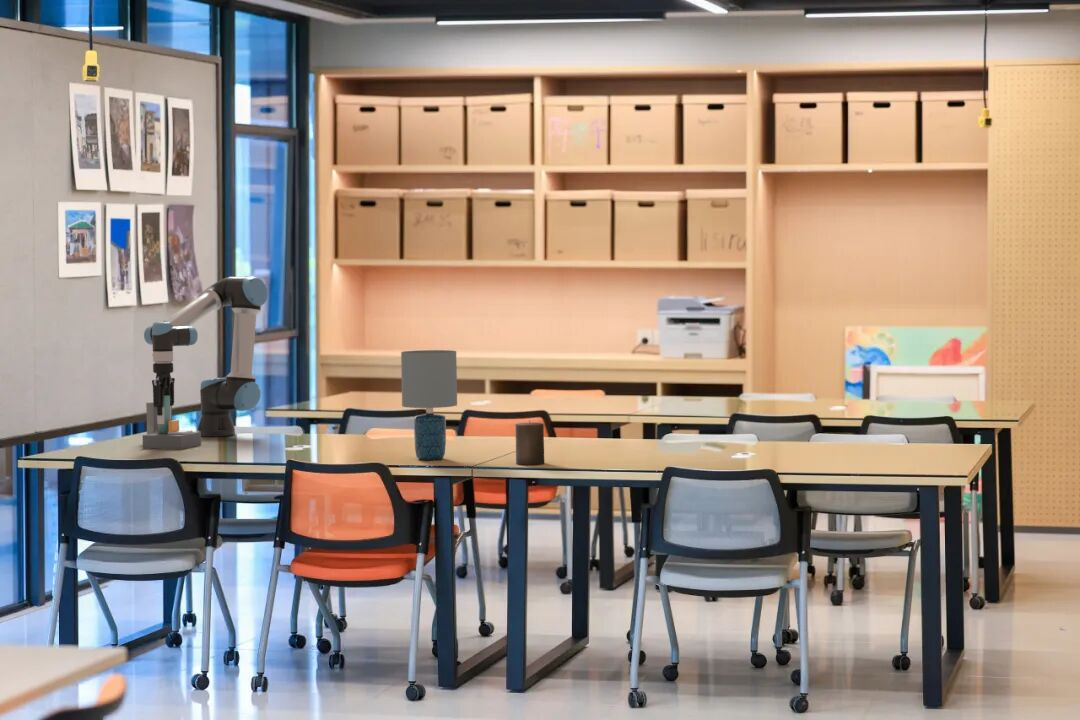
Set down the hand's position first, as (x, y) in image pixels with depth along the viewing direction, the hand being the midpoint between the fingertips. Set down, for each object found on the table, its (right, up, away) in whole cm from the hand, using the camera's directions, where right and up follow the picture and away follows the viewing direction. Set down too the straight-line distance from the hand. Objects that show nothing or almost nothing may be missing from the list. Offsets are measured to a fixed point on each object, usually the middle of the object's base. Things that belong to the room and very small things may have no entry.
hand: (164, 423), depth 606 cm
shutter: (+6, -4, -1) cm, 7 cm away
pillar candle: (+140, -11, -67) cm, 156 cm away
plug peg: (0, -3, 0) cm, 3 cm away
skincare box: (-6, -8, +17) cm, 20 cm away
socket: (+3, -9, 0) cm, 9 cm away
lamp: (+105, -11, -51) cm, 117 cm away
